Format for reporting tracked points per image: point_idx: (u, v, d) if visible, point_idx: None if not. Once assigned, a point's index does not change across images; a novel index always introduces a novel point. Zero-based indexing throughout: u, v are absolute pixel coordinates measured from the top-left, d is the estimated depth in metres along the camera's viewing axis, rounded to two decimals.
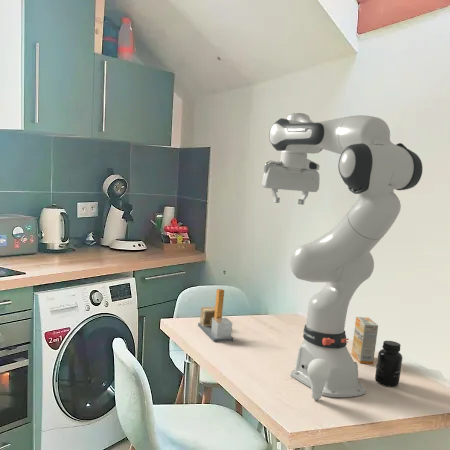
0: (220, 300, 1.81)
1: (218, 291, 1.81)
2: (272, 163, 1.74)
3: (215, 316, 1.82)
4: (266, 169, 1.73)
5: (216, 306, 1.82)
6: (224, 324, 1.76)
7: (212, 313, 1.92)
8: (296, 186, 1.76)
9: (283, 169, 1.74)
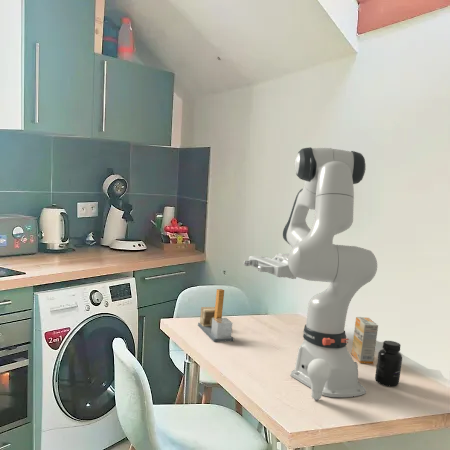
0: (220, 300, 1.81)
1: (218, 291, 1.81)
2: None
3: (215, 316, 1.82)
4: None
5: (216, 306, 1.82)
6: (224, 324, 1.76)
7: (212, 313, 1.92)
8: (267, 261, 1.89)
9: (271, 258, 1.96)
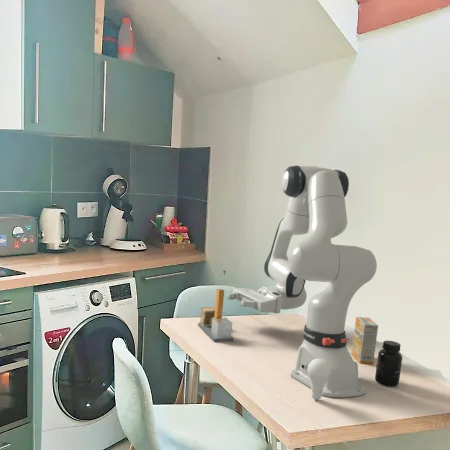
0: (220, 300, 1.81)
1: (218, 291, 1.81)
2: None
3: (215, 316, 1.82)
4: None
5: (216, 306, 1.82)
6: (224, 324, 1.76)
7: (212, 313, 1.92)
8: (251, 295, 1.87)
9: (255, 291, 1.95)
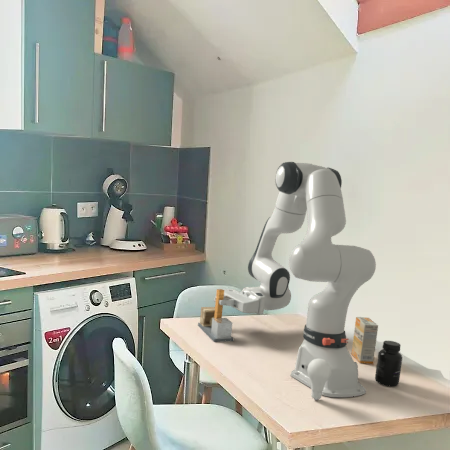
0: None
1: (218, 291, 1.81)
2: None
3: (215, 316, 1.82)
4: None
5: (216, 306, 1.82)
6: (224, 324, 1.76)
7: (212, 313, 1.92)
8: (234, 296, 1.84)
9: (238, 291, 1.91)
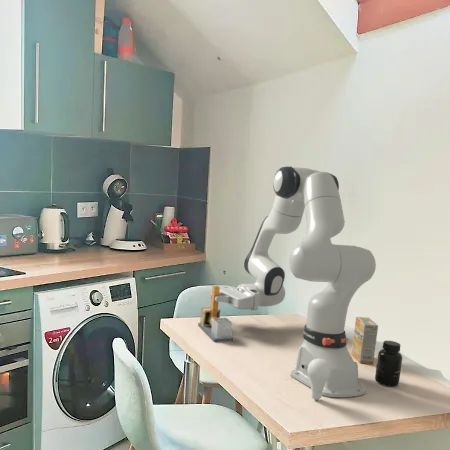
0: None
1: (214, 288, 1.85)
2: None
3: (211, 312, 1.86)
4: None
5: (212, 302, 1.86)
6: (224, 324, 1.76)
7: None
8: (229, 292, 1.88)
9: (234, 288, 1.95)
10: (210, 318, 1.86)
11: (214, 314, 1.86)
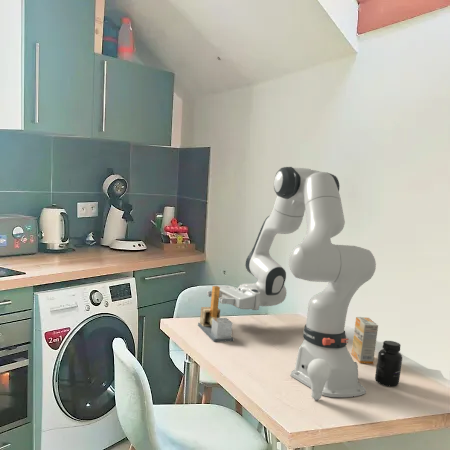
0: (216, 297, 1.85)
1: (214, 288, 1.85)
2: None
3: (211, 312, 1.86)
4: None
5: (212, 302, 1.86)
6: (224, 324, 1.76)
7: None
8: (230, 292, 1.88)
9: (235, 288, 1.96)
10: (210, 318, 1.86)
11: (214, 314, 1.86)
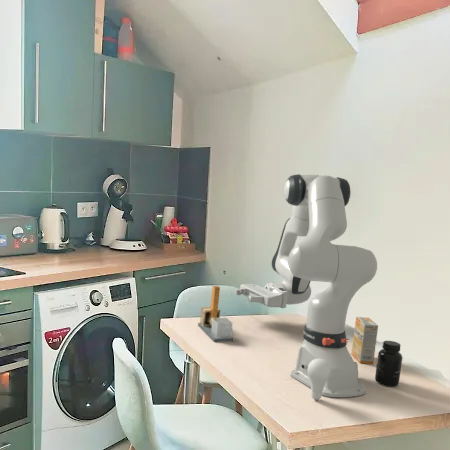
0: (216, 297, 1.85)
1: (214, 288, 1.85)
2: None
3: (211, 312, 1.86)
4: None
5: (212, 302, 1.86)
6: (224, 324, 1.76)
7: None
8: (258, 291, 1.95)
9: (261, 287, 2.02)
10: (210, 318, 1.86)
11: (214, 314, 1.86)
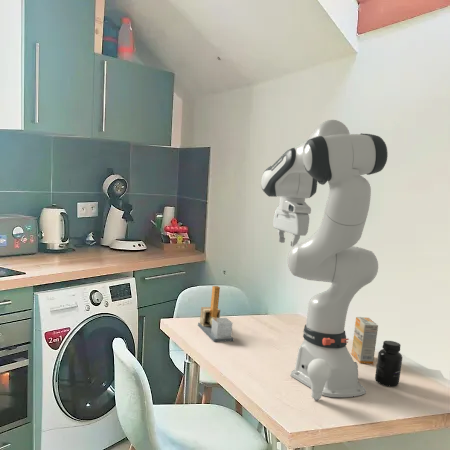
0: (216, 297, 1.85)
1: (214, 288, 1.85)
2: None
3: (211, 312, 1.86)
4: None
5: (212, 302, 1.86)
6: (224, 324, 1.76)
7: None
8: (286, 227, 1.84)
9: (280, 211, 1.88)
10: (210, 318, 1.86)
11: (214, 314, 1.86)
